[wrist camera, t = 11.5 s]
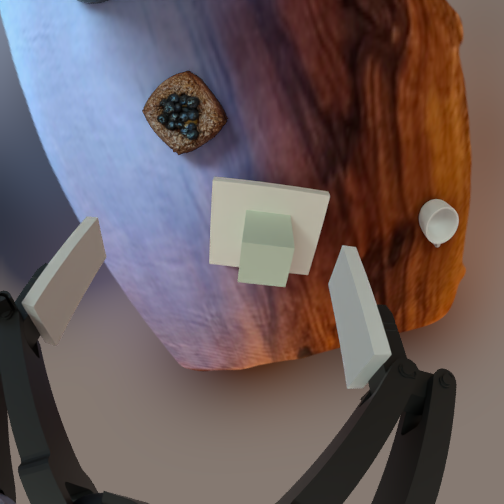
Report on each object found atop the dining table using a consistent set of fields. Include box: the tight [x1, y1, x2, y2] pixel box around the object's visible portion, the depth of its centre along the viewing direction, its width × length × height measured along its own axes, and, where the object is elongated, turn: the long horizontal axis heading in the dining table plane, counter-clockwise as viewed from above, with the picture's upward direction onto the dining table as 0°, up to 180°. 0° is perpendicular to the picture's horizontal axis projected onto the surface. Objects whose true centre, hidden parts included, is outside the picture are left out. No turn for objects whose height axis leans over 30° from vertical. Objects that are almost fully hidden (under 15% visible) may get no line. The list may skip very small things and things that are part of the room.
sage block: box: [238, 210, 295, 287], centre depth 44 cm, size 7×7×9 cm
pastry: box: [142, 71, 228, 155], centre depth 38 cm, size 11×12×6 cm
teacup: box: [419, 199, 459, 247], centre depth 46 cm, size 10×8×5 cm
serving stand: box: [209, 177, 330, 275], centre depth 49 cm, size 16×18×4 cm
